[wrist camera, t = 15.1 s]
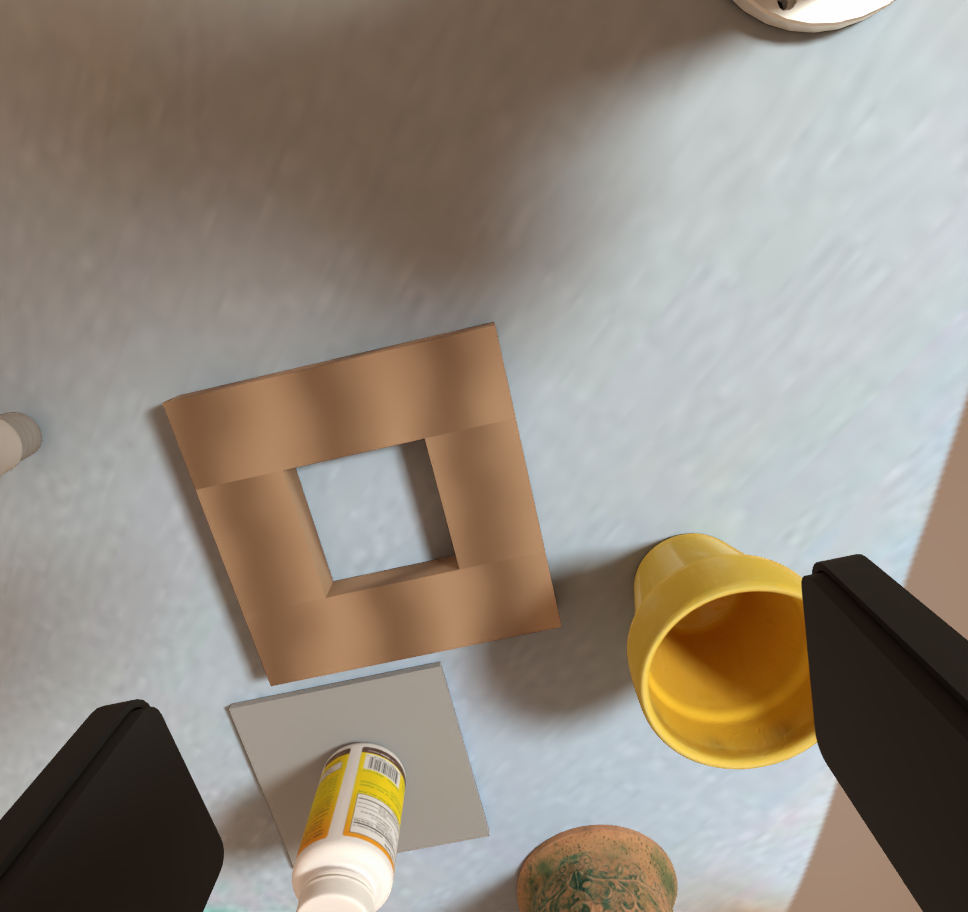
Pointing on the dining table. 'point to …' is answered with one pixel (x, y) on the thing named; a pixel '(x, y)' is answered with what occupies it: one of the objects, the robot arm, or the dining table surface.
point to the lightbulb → (17, 439)
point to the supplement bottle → (351, 832)
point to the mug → (597, 873)
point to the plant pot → (721, 654)
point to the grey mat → (366, 719)
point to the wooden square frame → (351, 430)
